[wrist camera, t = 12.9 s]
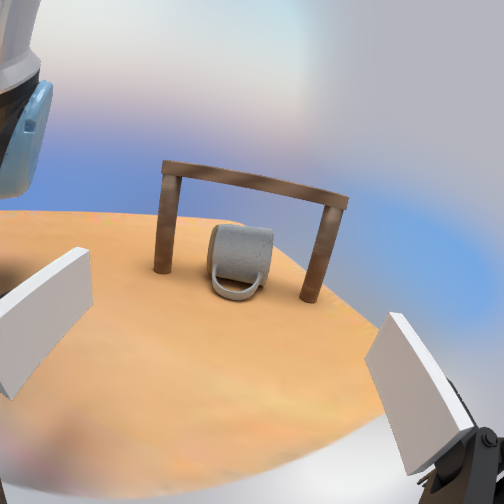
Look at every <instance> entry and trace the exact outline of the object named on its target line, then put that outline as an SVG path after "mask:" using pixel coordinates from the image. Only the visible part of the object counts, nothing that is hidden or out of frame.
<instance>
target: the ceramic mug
mask: <svg viewBox="0 0 504 504" xmlns="http://www.w3.org/2000/svg"><path fill="white" fill-rule="evenodd" d="M272 249H273V230H271V229H269V228H259V227H249V226H239V225H232V224H221V225H216V226H215V227H214V228H213V230H212V234H211V237H210V242H209V248H208V255H207V270H208V272H209V273H210V274H212V284H213V287H214V289H215V291H216V292H217V293H218V294H220V295H221V296H223V297H225V298H227V299H231V300H243V299H246V298H248V297H250V296H252V295H253V294H254V292H255V291H256V290H257V288H258V286H259V285H261V286H264V285H265V283H266V281H267V277H268V273H269V268H270V263H271V256H272ZM216 276H217V277H220V278H226V279H232V280H236V281H241V282H245V283H251V284H253V285H252V286H251V287H249V288H248V289H245V290H244V291H240V292H235V291H230V290H227V289H225V288H223V287H222V286H221V285H220V284H219V283H218V282H217V279H216Z"/></svg>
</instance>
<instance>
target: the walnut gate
mask: <svg viewBox="0 0 504 504" xmlns="http://www.w3.org/2000/svg"><path fill="white" fill-rule="evenodd" d="M161 173H162V174H163V179H162V186H161V194H160V202H159V211H158V221H157V231H156V243H155V257H154V271H155V272H156V273H159V274H168V273H170V272H171V266H172V255H173V245H174V235H175V226H176V218H177V210H178V202H179V195H180V188H181V181H182V177H188V178H195V179H200V180H206V181H212V182H218V183H224V184H229V185H235V186H240V187H245V188H251V189H255V190H261V191H265V192H270V193H275V194H280V195H284V196H289V197H293V198H298V199H302V200H306V201H311V202H315V203H319V204H323V205H325V207H324V211H323V215H322V218H321V222H320V227H319V230H318V234H317V238H316V241H315V245H314V248H313V252H312V256H311V259H310V263H309V266H308V269H307V273H306V276H305V280H304V283H303V286H302V290H301V293H300V296H299V297H300V299H301V300H303V301H305V302H308V303H315V302H316V300H317V297H318V295H319V292H320V288H321V285H322V282H323V279H324V276H325V273H326V270H327V267H328V263H329V260H330V257H331V253H332V250H333V247H334V243H335V240H336V236H337V233H338V229H339V225H340V222H341V218H342V214H343V211H344V210H346V208H347V204H348V200H349V197H347V196H345V195H342V194H338V193H334V192H331V191H326V190H323V189H318V188H314V187H310V186H306V185H302V184H298V183H294V182H289V181H285V180H280V179H276V178H271V177H266V176H261V175H256V174H251V173H246V172H240V171H235V170H229V169H224V168H218V167H211V166H206V165H199V164H192V163H185V162H178V161H171V160H163V164H162V171H161Z"/></svg>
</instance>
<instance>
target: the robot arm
mask: <svg viewBox="0 0 504 504" xmlns="http://www.w3.org/2000/svg"><path fill="white" fill-rule="evenodd" d="M40 1H41V0H0V199H5V198H12V197H18V196H20V195H22V194H23V193H25V192H26V191H27V190H28V188H29V186H30V184H31V182H32V180H33V176H34V173H35V169H36V166H37V162H38V157H39V152H40V149H41V145H42V140H43V136H44V132H45V128H46V123H47V119H48V115H49V110H50V105H51V101H52V94H53V92H52V91H53V85H52V83H51V82H47V81H46V80H42V81H41V82H39V80H38V79H39V71H40V63H41V61H40V59H39V58H38V57H37V56H36V55H35V54H34V53H33V52H32V51H31V49H30V47H29V45H30V40H31V35H32V31H33V26H34V22H35V19H36V14H37V11H38V8H39V5H40ZM92 305H93V297H92V286H91V271H90V250H87V249H84V248H80V247H75V248H73V249H72V250H70V251H69V252H67V253H66V254H64V255H62V256H61V257H59V258H58V259H56V260H55V261H53V262H52V263H50V264H49V265H47V266H46V267H44V268H43V269H41V270H40V271H38V272H37V273H35V274H34V275H33V276H31V277H30V278H28V279H27V280H26V281H24V282H23V283H21V284H20V285H19V286H17V287H16V288H15V289H13V290H11V291H9V292H6V293H4V294H2V295H1V296H0V392H1V393H2V394H3V395H4V396H6V397H7V398H8V399H10V400H11V401H12V399H13V398H14V397H15V395H16V394H17V393H18V391H19V390H20V389H21V387H22V386H23V385H24V383H25V382H26V381H27V380H28V378H29V377H30V376H31V374H32V373H33V372H34V371H35V369H36V368H37V367H38V366H39V365H40V363H41V362H42V361H43V360H44V358H45V357H46V356H47V355H48V354H49V353H50V351H51V350H52V349H53V348H54V347H55V346H56V344H57V343H58V342H59V341H60V340H61V339H62V337H63V336H64V335H65V334H66V333H67V332H68V331H69V330H70V329H71V327H72V326H73V325H74V324H75V323H76V322H77V321H78V320H79V319H80V318H81V316H82V315H83V314H84V313H85V312H86V311H87V310H88V309H89V308H90V307H91V306H92ZM364 359H365V362H366V364H367V367H368V369H369V371H370V374H371V376H372V379H373V381H374V384H375V386H376V389H377V391H378V394H379V397H380V399H381V402H382V404H383V407H384V410H385V412H386V415H387V418H388V420H389V423H390V426H391V429H392V431H393V434H394V437H395V440H396V443H397V446H398V449H399V452H400V455H401V458H402V461H403V464H404V467H405V470H406V473H407V476H409V475H413V474H417V473H420V472H423V471H424V470H426V469H427V468H428V467H429V466H431V465H432V464H433V463H434V465H435V467H436V468H435V469H434V470H432V471H431V472H430V473H428V474H427V475H426V476H424V477H423V478H422V479H420V480H419V482H418V483H417V484H418V485H420V484H421V483H422V482H424V481H425V480H427V479H428V481H427V482H426V483H425V484H423V485H422V487H424V488H425V489H424V491H423V494H422V496H421V498H420V501H419V503H418V504H504V477H503V478H501V479H500V480H499V481H498V482H496V478H497V475H499V474H500V473H501V472H502V471H503V470H504V438H498V437H497V435H496V434H495V433H494V431H493V430H491V429H490V428H487V427H482V428H480V429H479V428H478V426H477V425H476V423H475V421H474V419H473V417H472V416H471V414H470V412H469V410H468V409H467V407H466V405H465V403H464V402H463V401H462V398H461V397H460V395H459V394H457V393H458V392H457V390H456V388H455V387H454V385H453V384H452V383H451V381H449V380H448V379H447V378H446V377H445V376H444V374H443V373H442V371H441V370H440V368H439V366H438V365H437V363H436V362H435V360H434V359H433V357H432V356H431V354H430V353H429V351H428V350H427V348H426V347H425V345H424V344H423V343H422V341H421V340H420V338H419V337H418V335H417V334H416V333H415V331H414V330H413V328H412V327H411V326H410V324H409V323H408V322H407V320H406V319H405V317H404V316H403V315H402V314H400V313H393V312H388V314H387V316H386V319H385V321H384V323H383V325H382V327H381V329H380V331H379V332H378V334H377V336H376V338H375V340H374V342H373V344H372V346H371V348H370V349H369V351H368V353H367V355H366V357H365V358H364ZM0 504H7V502H6V498H5V495H4V491H3V487H2V483H1V479H0Z"/></svg>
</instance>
